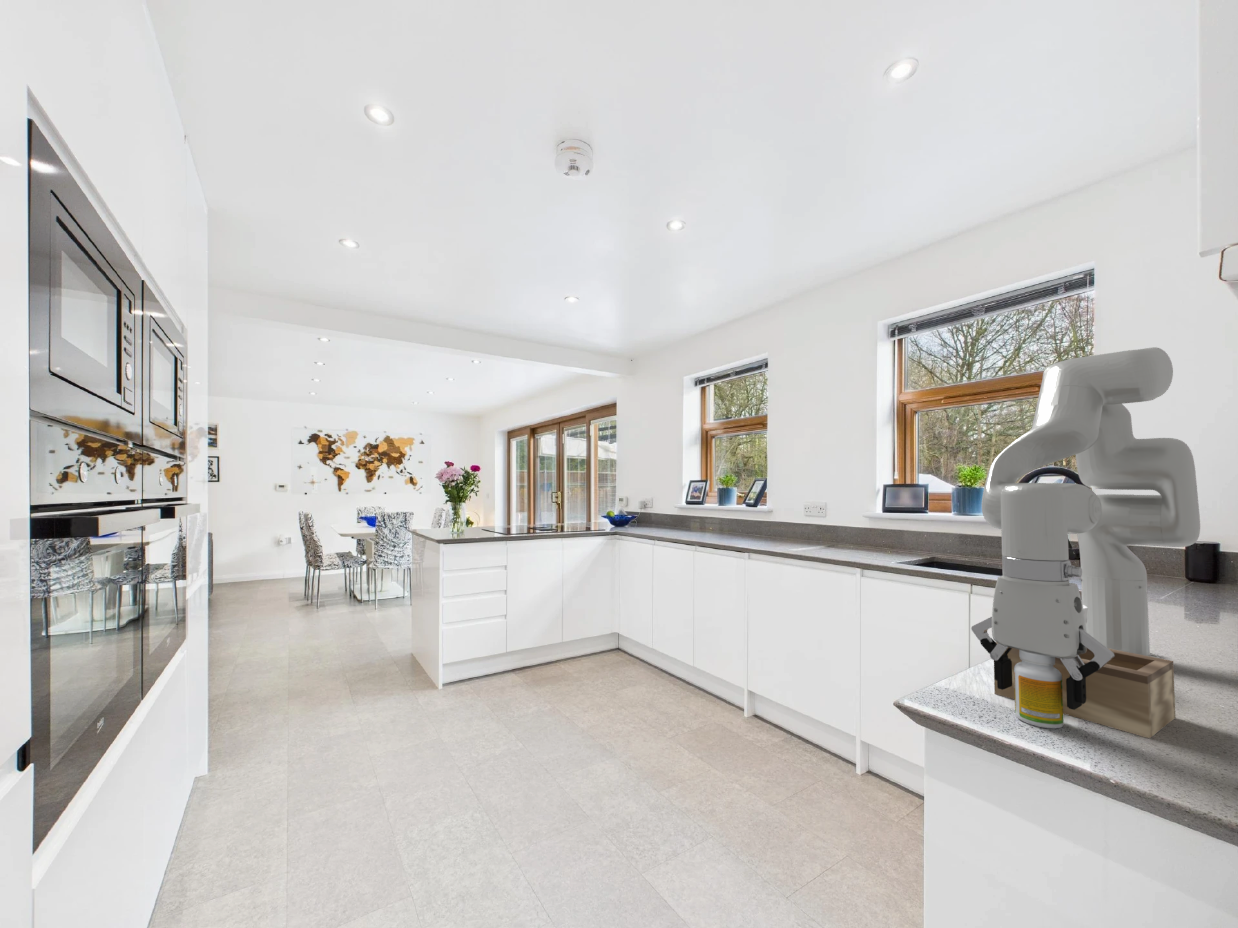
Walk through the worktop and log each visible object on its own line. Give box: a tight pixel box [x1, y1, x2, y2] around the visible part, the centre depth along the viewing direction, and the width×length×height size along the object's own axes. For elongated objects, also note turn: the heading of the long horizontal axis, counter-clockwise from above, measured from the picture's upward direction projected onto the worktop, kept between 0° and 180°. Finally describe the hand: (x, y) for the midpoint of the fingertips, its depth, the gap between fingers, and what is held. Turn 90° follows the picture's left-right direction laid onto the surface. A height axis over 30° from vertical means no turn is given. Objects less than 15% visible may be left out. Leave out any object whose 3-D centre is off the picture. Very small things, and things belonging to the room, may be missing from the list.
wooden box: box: [993, 641, 1176, 739], centre depth 81 cm, size 12×18×8 cm, turn 33°
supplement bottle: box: [1014, 650, 1065, 729], centre depth 76 cm, size 5×5×10 cm
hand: (1038, 696), depth 76 cm, fingers open, 7 cm apart
